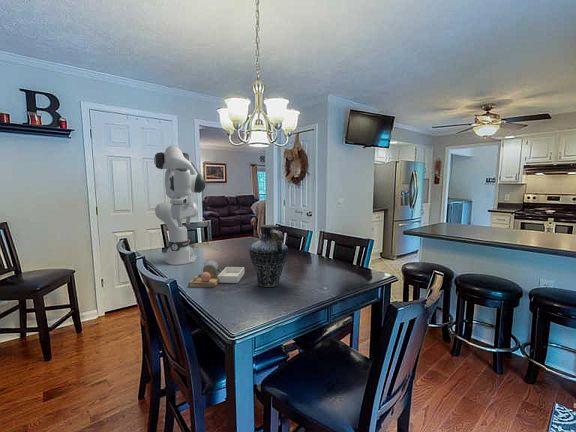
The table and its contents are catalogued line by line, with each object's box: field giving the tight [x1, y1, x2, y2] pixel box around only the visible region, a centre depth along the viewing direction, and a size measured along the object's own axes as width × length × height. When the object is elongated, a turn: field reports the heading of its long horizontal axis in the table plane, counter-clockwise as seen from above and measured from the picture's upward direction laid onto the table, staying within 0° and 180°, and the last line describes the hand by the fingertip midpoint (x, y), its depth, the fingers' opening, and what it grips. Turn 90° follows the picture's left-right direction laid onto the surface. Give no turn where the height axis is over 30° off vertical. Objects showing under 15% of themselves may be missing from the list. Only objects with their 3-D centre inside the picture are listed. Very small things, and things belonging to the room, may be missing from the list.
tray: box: [187, 274, 220, 289], centre depth 153 cm, size 13×13×2 cm
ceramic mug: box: [202, 259, 223, 275], centre depth 166 cm, size 11×8×8 cm
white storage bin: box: [217, 266, 245, 284], centre depth 161 cm, size 16×10×4 cm, turn 176°
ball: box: [200, 272, 211, 282], centre depth 152 cm, size 5×5×5 cm
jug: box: [248, 224, 289, 288], centre depth 149 cm, size 21×19×30 cm
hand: (184, 225), depth 156 cm, fingers open, 8 cm apart
